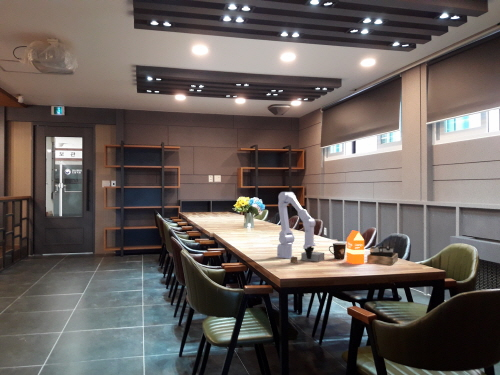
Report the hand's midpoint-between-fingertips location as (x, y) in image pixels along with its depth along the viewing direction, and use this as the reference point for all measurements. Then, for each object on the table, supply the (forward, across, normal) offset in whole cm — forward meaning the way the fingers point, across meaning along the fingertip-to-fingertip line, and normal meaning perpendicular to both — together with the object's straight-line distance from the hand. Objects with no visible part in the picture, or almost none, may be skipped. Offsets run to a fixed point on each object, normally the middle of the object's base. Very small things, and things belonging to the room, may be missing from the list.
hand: (309, 258), depth 241 cm
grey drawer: (+2, +7, 0) cm, 7 cm away
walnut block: (+2, -10, +6) cm, 12 cm away
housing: (+2, +7, 0) cm, 7 cm away
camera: (+2, +26, -39) cm, 46 cm away
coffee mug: (+2, +20, -12) cm, 23 cm away
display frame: (+2, +27, -40) cm, 48 cm away
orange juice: (+2, +13, -26) cm, 29 cm away
